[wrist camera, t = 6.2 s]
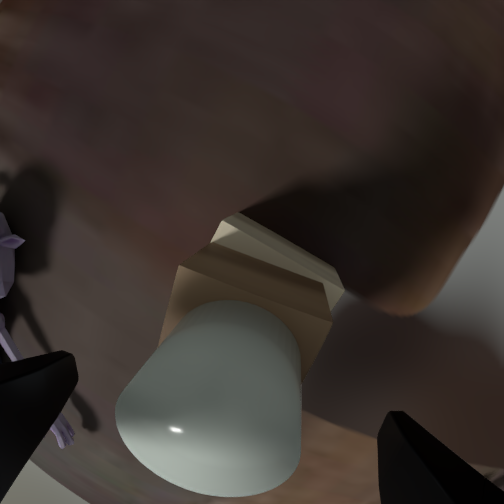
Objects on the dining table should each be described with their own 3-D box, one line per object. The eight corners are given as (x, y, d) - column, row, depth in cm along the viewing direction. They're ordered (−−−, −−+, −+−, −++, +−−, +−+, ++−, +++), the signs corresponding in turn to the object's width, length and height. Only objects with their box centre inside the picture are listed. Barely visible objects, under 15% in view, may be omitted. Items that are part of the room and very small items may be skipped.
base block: (239, 211, 17) (222, 220, 13) (334, 266, 17) (345, 290, 13) (192, 300, 18) (167, 329, 15) (279, 349, 18) (274, 388, 14)
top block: (212, 241, 13) (178, 265, 9) (322, 283, 13) (333, 323, 9) (182, 338, 14) (149, 383, 11) (280, 374, 14) (274, 431, 10)
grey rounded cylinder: (199, 274, 9) (140, 333, 5) (327, 340, 9) (341, 428, 5) (154, 374, 10) (103, 446, 7) (261, 427, 10) (246, 511, 6)
